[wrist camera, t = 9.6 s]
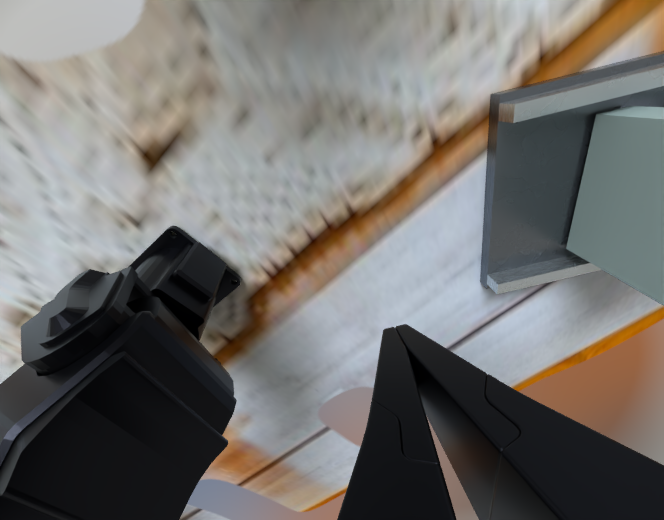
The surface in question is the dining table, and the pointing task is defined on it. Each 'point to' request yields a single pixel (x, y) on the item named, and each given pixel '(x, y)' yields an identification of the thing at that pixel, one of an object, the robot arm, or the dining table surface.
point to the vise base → (549, 167)
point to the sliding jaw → (624, 199)
